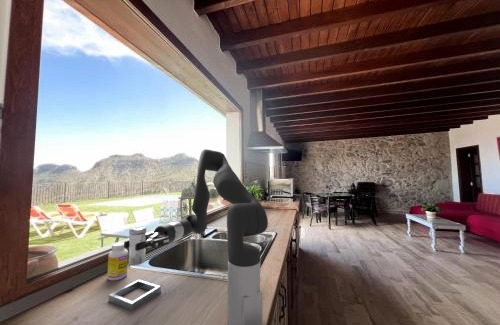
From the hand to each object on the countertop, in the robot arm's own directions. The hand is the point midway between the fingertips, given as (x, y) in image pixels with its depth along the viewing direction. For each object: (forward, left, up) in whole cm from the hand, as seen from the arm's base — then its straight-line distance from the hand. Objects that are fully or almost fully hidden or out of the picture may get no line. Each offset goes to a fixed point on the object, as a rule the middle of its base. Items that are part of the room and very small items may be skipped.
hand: (130, 246), depth 69 cm
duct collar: (+1, -2, -17) cm, 18 cm away
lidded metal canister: (+1, -2, -6) cm, 7 cm away
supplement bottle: (+20, +2, -18) cm, 27 cm away
